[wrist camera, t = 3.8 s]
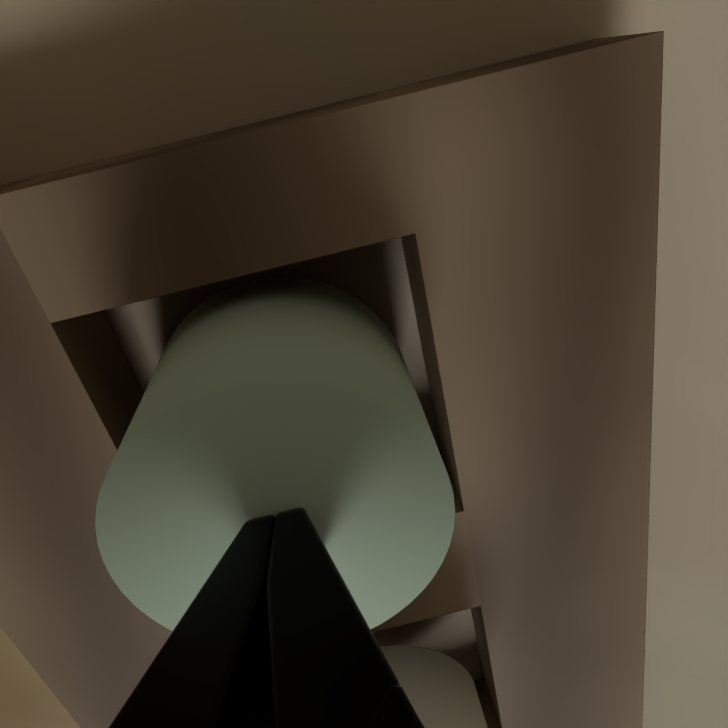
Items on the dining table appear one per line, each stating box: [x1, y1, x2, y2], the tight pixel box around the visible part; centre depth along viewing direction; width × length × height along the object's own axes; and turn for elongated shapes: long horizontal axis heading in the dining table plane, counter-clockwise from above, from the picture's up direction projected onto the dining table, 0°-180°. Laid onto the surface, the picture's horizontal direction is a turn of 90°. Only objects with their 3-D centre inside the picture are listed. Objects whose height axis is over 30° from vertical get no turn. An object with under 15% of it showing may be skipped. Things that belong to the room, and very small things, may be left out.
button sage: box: [95, 277, 455, 631], centre depth 10 cm, size 5×5×4 cm
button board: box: [0, 31, 664, 728], centre depth 16 cm, size 14×28×2 cm, turn 12°
